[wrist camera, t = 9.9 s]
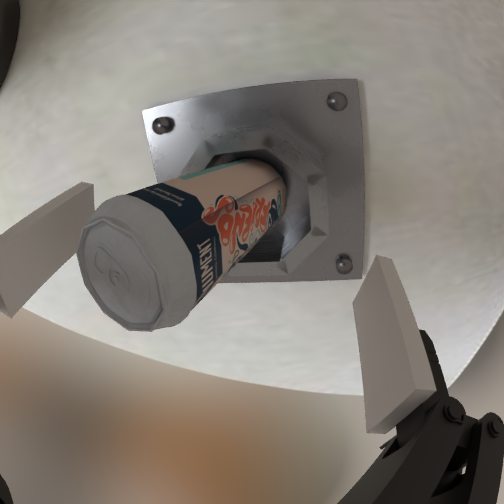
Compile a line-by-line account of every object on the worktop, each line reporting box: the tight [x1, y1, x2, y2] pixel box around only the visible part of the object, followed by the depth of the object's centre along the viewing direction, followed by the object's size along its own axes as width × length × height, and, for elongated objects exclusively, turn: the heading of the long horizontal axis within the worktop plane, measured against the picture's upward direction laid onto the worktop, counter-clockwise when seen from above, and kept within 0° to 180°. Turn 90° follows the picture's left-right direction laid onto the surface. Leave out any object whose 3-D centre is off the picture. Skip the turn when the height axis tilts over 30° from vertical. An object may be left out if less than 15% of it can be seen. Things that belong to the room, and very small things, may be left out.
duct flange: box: [142, 79, 364, 283], centre depth 18 cm, size 14×14×4 cm
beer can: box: [76, 158, 287, 332], centre depth 13 cm, size 5×5×12 cm
